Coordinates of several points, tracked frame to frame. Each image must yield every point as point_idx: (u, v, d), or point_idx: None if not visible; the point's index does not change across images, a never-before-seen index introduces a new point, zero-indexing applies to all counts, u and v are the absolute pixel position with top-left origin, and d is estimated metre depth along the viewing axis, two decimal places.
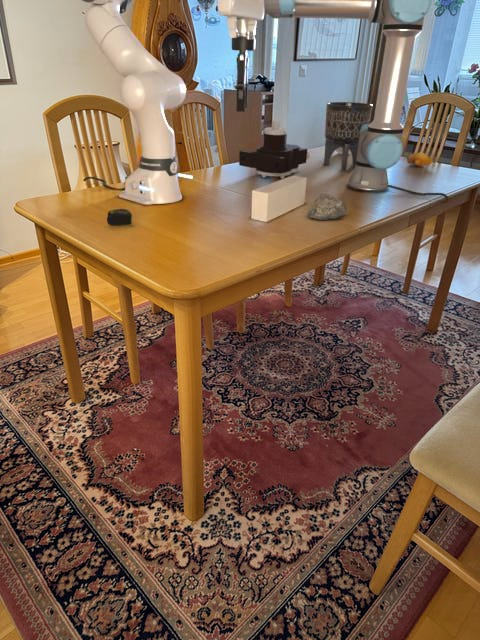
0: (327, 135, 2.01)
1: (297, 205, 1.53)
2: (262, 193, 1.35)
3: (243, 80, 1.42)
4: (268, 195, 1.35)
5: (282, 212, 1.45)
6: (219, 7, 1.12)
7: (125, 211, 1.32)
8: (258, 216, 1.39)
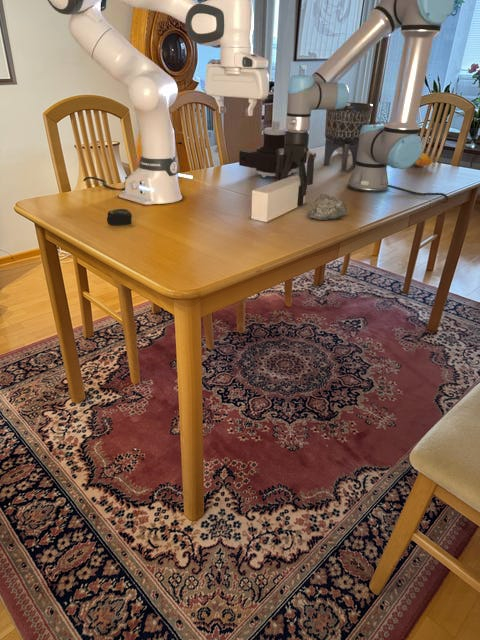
0: (327, 135, 2.01)
1: None
2: (262, 193, 1.35)
3: (312, 178, 1.48)
4: (268, 195, 1.35)
5: (282, 212, 1.45)
6: (263, 93, 1.24)
7: (125, 211, 1.32)
8: (258, 216, 1.39)
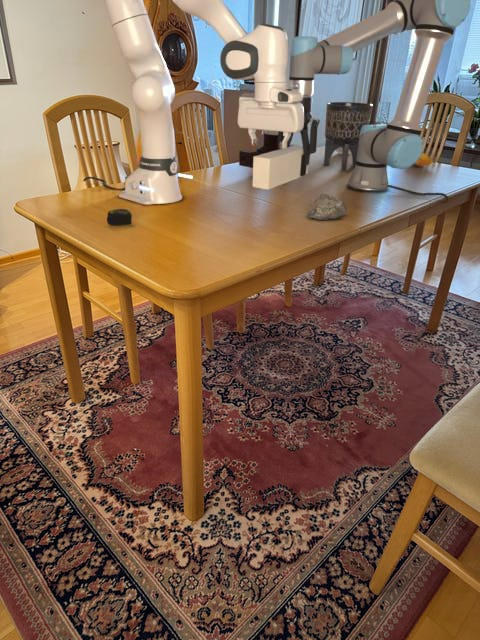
0: (327, 135, 2.01)
1: None
2: (264, 159, 1.30)
3: (315, 147, 1.43)
4: (270, 161, 1.30)
5: (284, 181, 1.40)
6: (298, 126, 1.23)
7: (125, 211, 1.32)
8: (259, 184, 1.34)
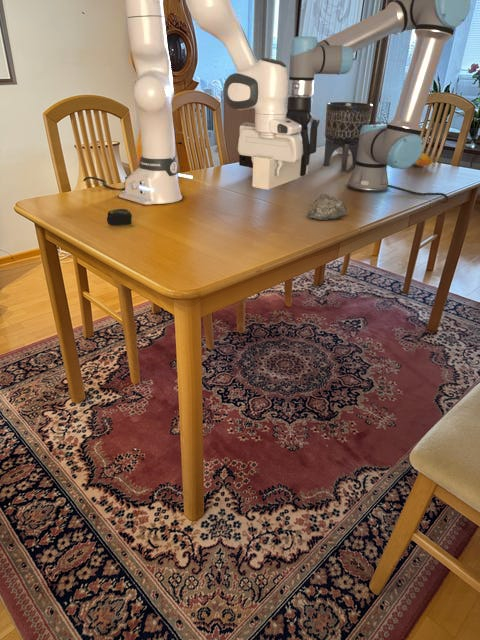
0: (327, 135, 2.01)
1: None
2: (264, 159, 1.30)
3: (315, 147, 1.43)
4: (270, 161, 1.30)
5: (284, 181, 1.40)
6: (297, 157, 1.27)
7: (125, 211, 1.32)
8: (259, 184, 1.34)
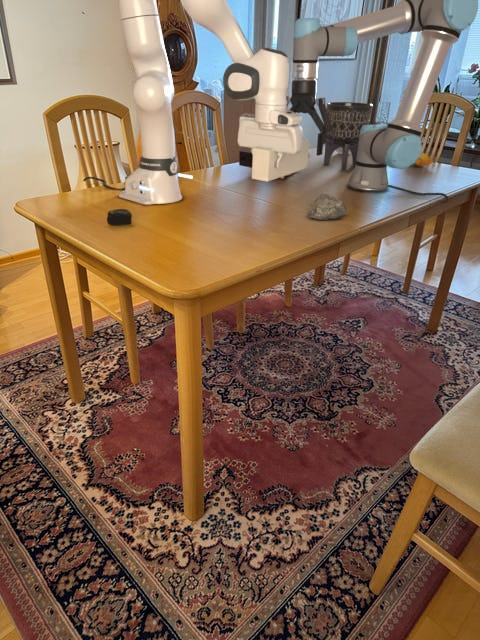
0: (327, 135, 2.01)
1: (299, 168, 1.47)
2: (263, 150, 1.29)
3: (331, 124, 1.39)
4: (270, 152, 1.29)
5: (284, 173, 1.39)
6: (297, 148, 1.26)
7: (125, 211, 1.32)
8: (259, 176, 1.33)
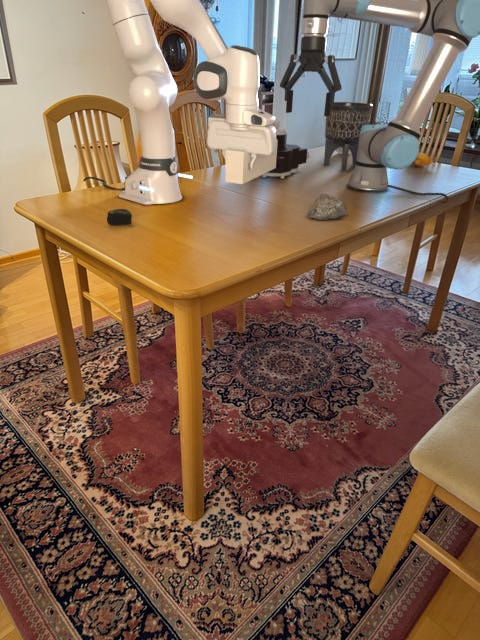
0: (327, 135, 2.01)
1: (269, 169, 1.43)
2: (237, 152, 1.24)
3: (340, 83, 1.37)
4: (244, 154, 1.24)
5: (256, 175, 1.35)
6: (272, 149, 1.22)
7: (125, 211, 1.32)
8: (233, 178, 1.28)
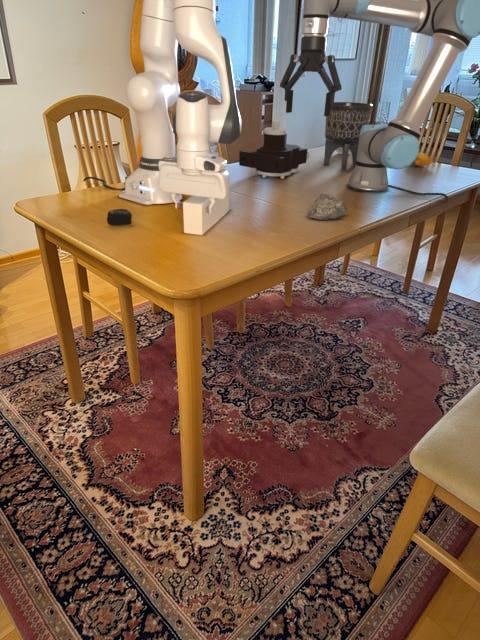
0: (327, 135, 2.01)
1: (224, 213, 1.44)
2: (195, 204, 1.23)
3: (340, 83, 1.37)
4: (202, 206, 1.23)
5: (213, 222, 1.35)
6: (226, 194, 1.22)
7: (125, 211, 1.32)
8: (192, 230, 1.27)
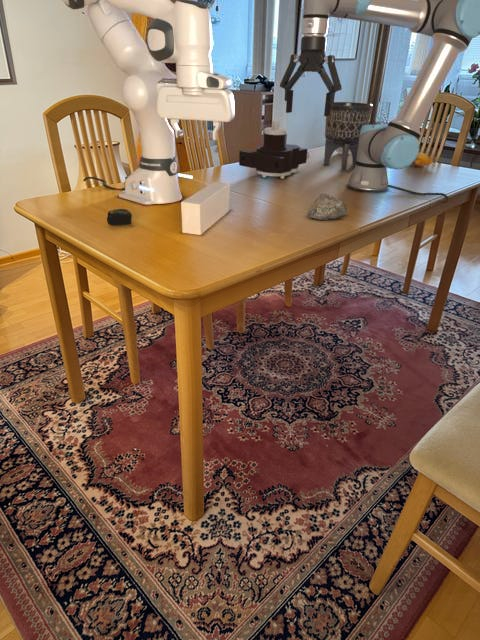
0: (327, 135, 2.01)
1: (224, 213, 1.43)
2: (193, 204, 1.23)
3: (340, 83, 1.37)
4: (200, 206, 1.23)
5: (212, 222, 1.35)
6: (231, 115, 1.12)
7: (125, 211, 1.32)
8: (190, 229, 1.27)
